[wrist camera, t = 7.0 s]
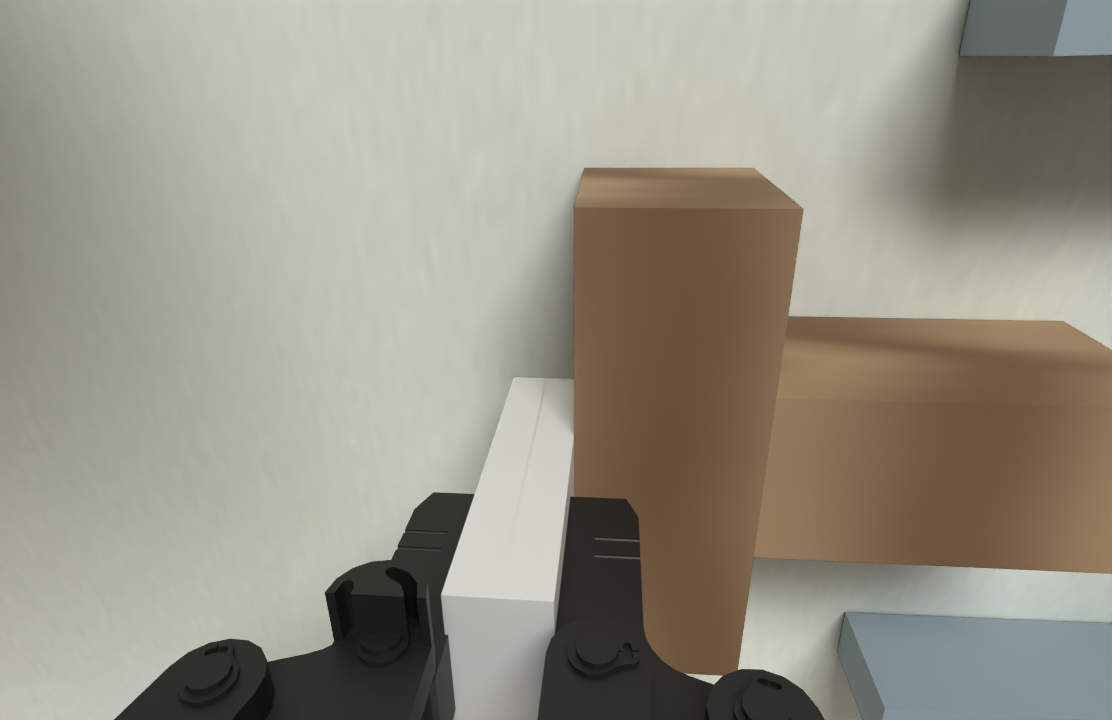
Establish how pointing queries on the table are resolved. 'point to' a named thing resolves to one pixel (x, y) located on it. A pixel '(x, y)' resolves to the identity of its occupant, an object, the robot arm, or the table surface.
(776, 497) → the t block
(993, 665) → the dock
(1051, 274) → the table surface
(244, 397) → the table surface
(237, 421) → the table surface
